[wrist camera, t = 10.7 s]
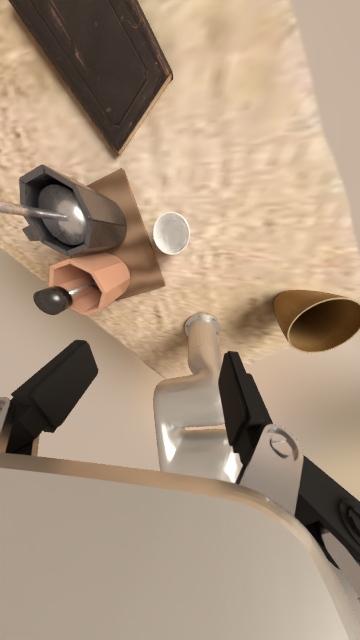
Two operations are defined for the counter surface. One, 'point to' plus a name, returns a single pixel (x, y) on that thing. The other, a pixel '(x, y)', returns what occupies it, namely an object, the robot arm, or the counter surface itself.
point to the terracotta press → (106, 274)
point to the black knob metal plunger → (59, 297)
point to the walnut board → (130, 236)
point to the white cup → (171, 233)
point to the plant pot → (316, 319)
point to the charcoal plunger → (56, 213)
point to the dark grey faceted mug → (100, 210)
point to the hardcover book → (102, 58)
